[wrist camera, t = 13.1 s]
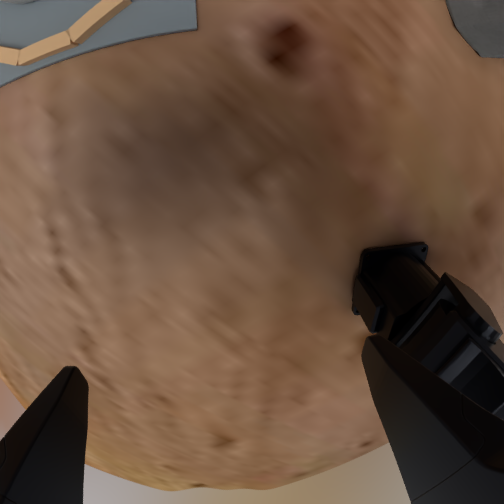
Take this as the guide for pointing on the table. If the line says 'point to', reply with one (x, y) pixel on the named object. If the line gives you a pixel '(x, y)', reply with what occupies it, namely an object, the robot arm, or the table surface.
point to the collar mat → (81, 29)
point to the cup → (17, 1)
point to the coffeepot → (480, 24)
